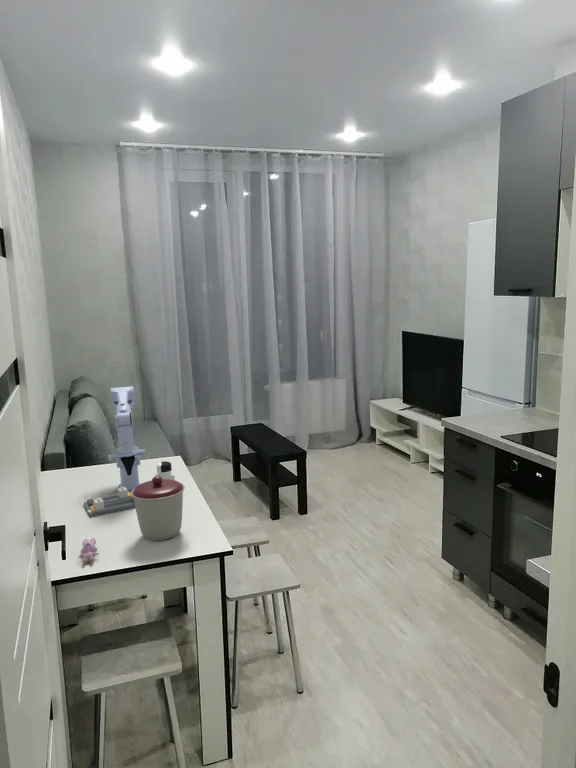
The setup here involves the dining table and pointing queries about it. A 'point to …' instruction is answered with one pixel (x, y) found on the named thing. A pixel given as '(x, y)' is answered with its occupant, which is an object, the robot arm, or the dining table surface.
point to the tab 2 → (122, 492)
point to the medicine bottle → (165, 470)
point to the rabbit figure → (88, 551)
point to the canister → (159, 507)
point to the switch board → (110, 505)
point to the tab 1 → (99, 504)
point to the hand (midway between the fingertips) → (129, 474)
